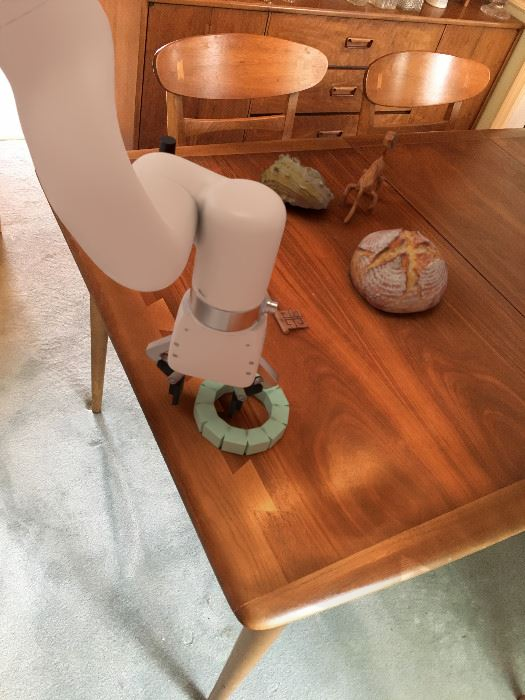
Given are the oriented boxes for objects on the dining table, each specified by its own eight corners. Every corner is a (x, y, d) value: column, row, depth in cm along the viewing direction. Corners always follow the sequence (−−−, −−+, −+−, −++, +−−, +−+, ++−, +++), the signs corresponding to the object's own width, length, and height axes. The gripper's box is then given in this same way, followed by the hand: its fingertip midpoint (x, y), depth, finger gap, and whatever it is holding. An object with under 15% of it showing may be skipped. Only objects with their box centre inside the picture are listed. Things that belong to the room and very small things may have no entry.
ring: (184, 441, 66) (186, 431, 64) (205, 369, 74) (207, 359, 72) (279, 464, 66) (283, 454, 65) (289, 390, 74) (293, 380, 73)
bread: (331, 299, 91) (346, 249, 83) (365, 240, 104) (380, 192, 97) (428, 337, 87) (452, 288, 80) (449, 271, 101) (472, 224, 94)
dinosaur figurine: (358, 235, 103) (385, 169, 93) (326, 220, 104) (350, 153, 94) (385, 194, 115) (411, 132, 105) (356, 182, 116) (380, 119, 106)
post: (129, 212, 94) (131, 145, 85) (144, 185, 100) (148, 120, 91) (181, 225, 94) (189, 160, 85) (193, 198, 100) (201, 134, 91)
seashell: (320, 233, 103) (342, 187, 96) (247, 203, 102) (264, 154, 95) (327, 204, 111) (348, 159, 104) (260, 176, 110) (276, 129, 103)
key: (307, 332, 83) (269, 266, 92) (309, 327, 83) (271, 262, 91) (273, 335, 81) (238, 267, 89) (275, 331, 80) (239, 263, 88)
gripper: (311, 296, 60) (275, 397, 73) (153, 256, 59) (145, 365, 72) (305, 345, 55) (267, 444, 67) (132, 302, 54) (127, 410, 67)
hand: (204, 402), depth 70 cm, fingers open, 6 cm apart
